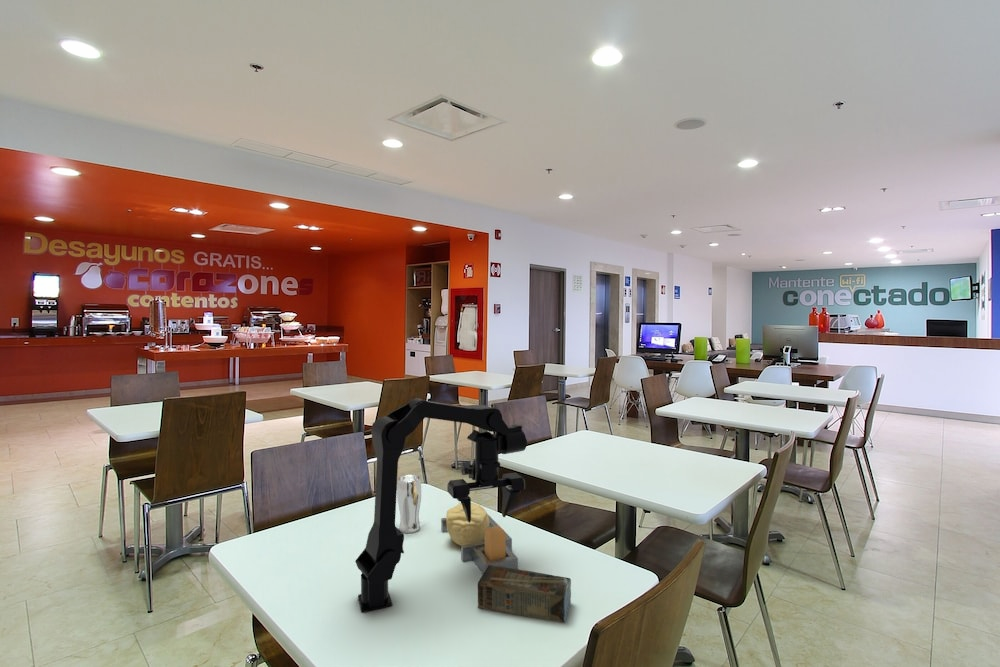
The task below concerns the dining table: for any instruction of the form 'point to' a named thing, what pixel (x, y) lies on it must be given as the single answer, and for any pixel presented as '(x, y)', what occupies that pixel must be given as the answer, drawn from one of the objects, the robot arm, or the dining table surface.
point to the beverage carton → (525, 593)
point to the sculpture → (467, 524)
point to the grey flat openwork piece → (478, 551)
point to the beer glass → (409, 502)
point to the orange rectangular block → (495, 543)
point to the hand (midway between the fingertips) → (486, 519)
